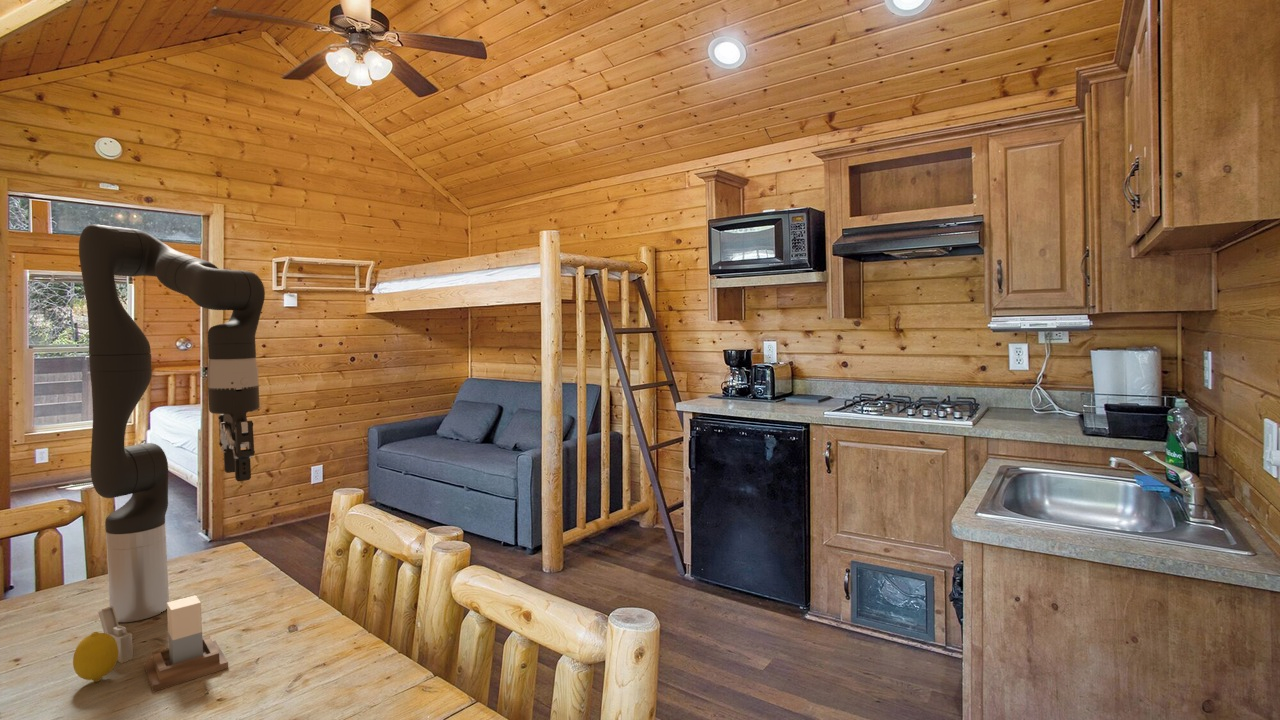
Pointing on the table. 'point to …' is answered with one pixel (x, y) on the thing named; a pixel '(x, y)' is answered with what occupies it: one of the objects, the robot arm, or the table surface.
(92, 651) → the lemon
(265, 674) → the table surface
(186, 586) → the table surface
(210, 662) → the socket board
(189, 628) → the brick block
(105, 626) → the lighter
